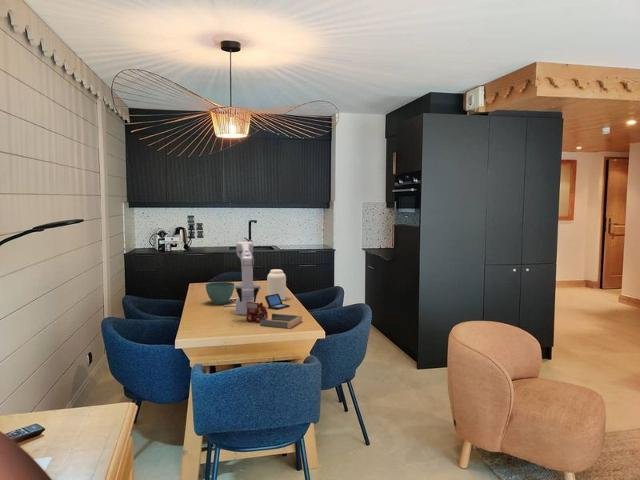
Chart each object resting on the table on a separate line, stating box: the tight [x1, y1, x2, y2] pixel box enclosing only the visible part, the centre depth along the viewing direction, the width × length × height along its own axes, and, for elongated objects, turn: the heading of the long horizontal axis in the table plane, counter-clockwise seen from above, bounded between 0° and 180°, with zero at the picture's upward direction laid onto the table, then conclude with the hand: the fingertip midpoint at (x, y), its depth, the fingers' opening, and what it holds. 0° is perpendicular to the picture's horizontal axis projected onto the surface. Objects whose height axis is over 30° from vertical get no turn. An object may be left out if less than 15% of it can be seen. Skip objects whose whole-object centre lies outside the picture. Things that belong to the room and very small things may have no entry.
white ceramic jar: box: [266, 268, 287, 301], centre depth 323 cm, size 12×12×20 cm
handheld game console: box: [264, 294, 291, 311], centre depth 299 cm, size 12×11×7 cm
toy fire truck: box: [245, 301, 269, 324], centre depth 264 cm, size 7×12×10 cm, turn 71°
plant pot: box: [205, 281, 235, 305], centre depth 310 cm, size 18×18×12 cm
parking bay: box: [259, 313, 303, 329], centre depth 259 cm, size 18×16×3 cm
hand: (247, 301), depth 269 cm, fingers open, 7 cm apart
